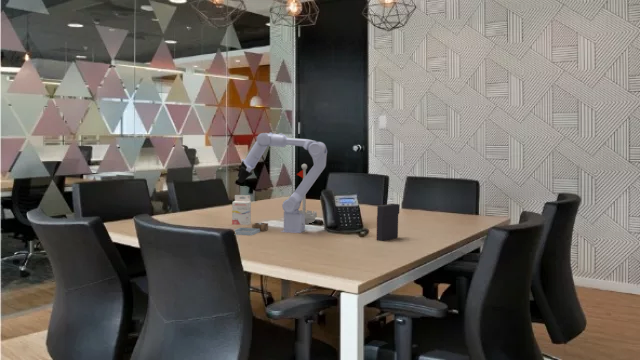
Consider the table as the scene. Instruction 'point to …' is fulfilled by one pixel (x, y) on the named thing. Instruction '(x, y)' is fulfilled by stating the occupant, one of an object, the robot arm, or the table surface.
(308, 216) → the flag stand
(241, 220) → the ink cartridge box
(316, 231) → the table surface
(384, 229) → the upright black prism
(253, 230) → the tray
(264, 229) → the brown wooden frame
